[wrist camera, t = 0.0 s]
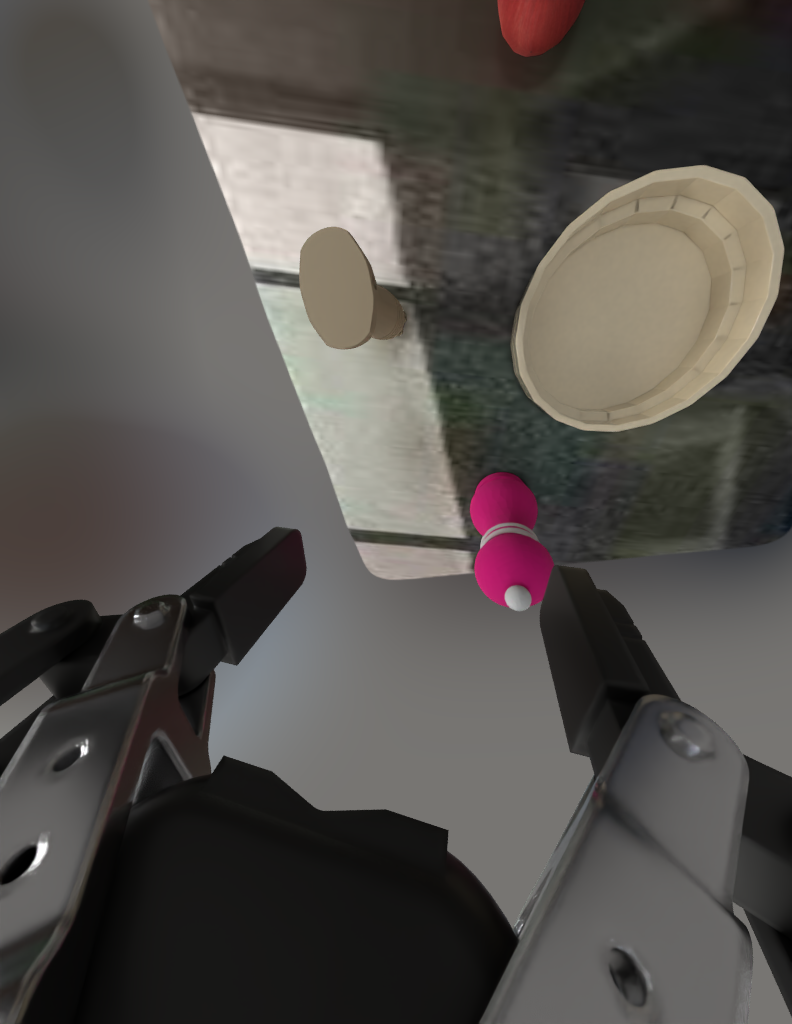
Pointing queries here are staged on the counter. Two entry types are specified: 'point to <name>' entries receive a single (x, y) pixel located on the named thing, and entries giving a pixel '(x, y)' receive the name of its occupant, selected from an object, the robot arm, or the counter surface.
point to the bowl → (648, 299)
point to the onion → (536, 23)
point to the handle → (345, 292)
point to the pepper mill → (509, 542)
